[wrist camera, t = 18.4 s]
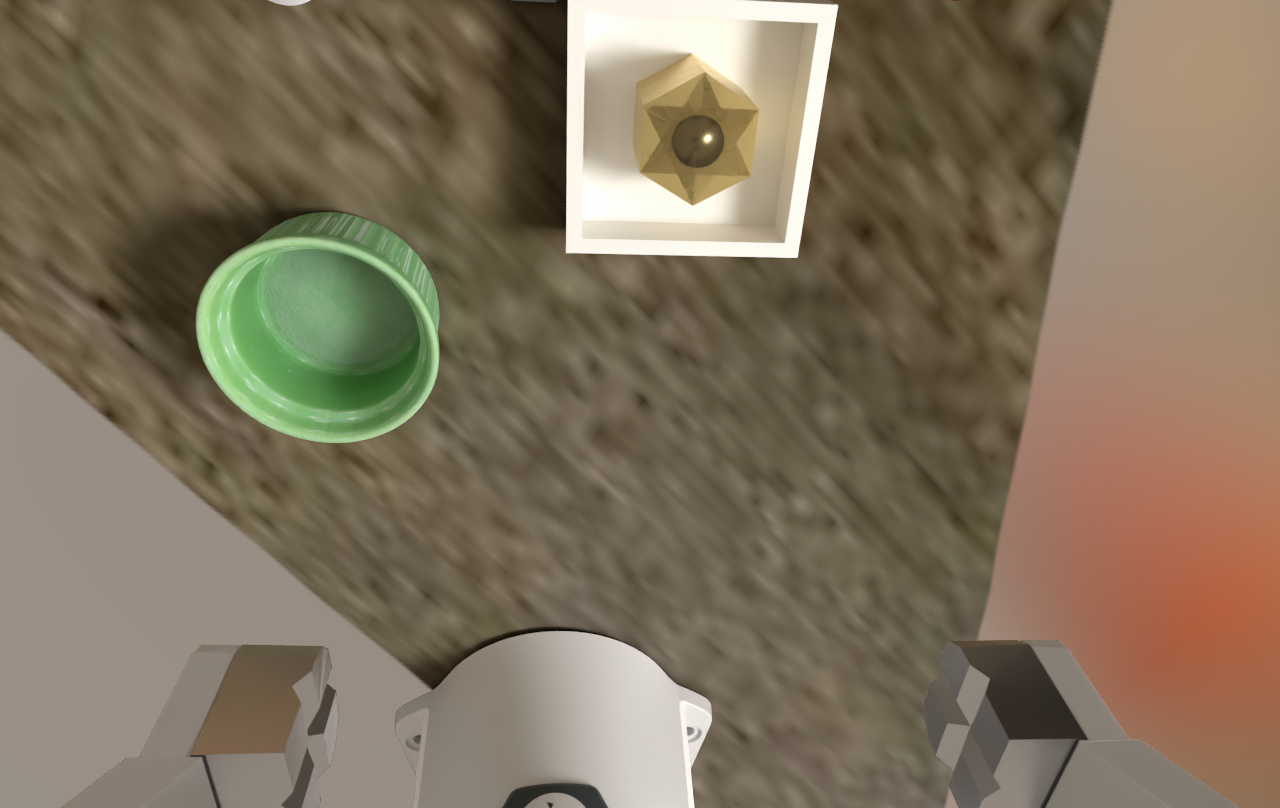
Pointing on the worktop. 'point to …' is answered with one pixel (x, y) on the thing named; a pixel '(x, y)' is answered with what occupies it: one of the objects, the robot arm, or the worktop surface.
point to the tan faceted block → (693, 130)
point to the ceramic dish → (745, 54)
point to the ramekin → (322, 328)
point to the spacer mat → (300, 0)
